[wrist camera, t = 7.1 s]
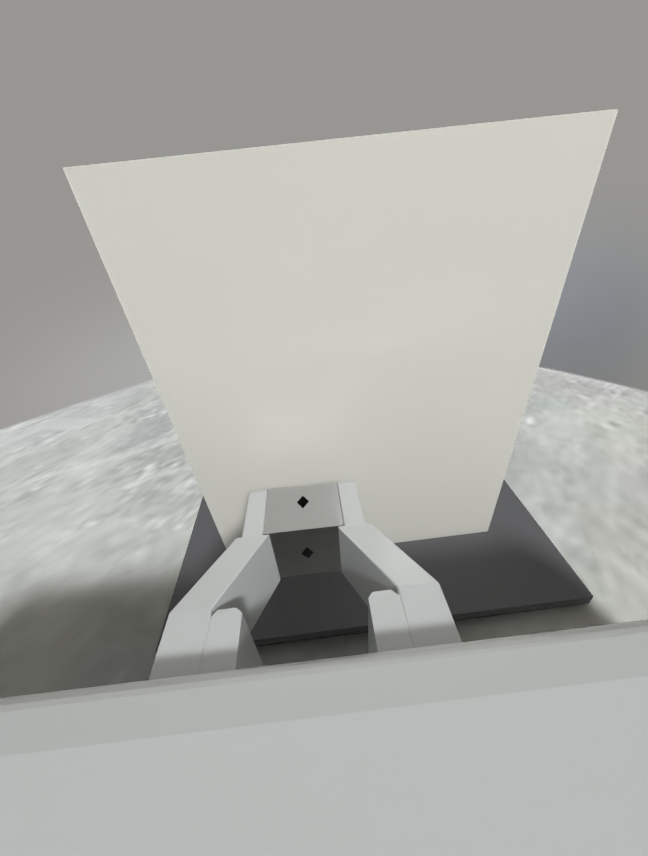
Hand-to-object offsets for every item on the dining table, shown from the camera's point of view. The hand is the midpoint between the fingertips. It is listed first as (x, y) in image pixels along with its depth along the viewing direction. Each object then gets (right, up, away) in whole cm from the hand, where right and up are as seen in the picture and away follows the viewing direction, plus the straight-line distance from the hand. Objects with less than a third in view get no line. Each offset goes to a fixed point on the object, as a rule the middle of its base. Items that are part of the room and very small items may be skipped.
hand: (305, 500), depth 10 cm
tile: (+2, -2, +4) cm, 5 cm away
